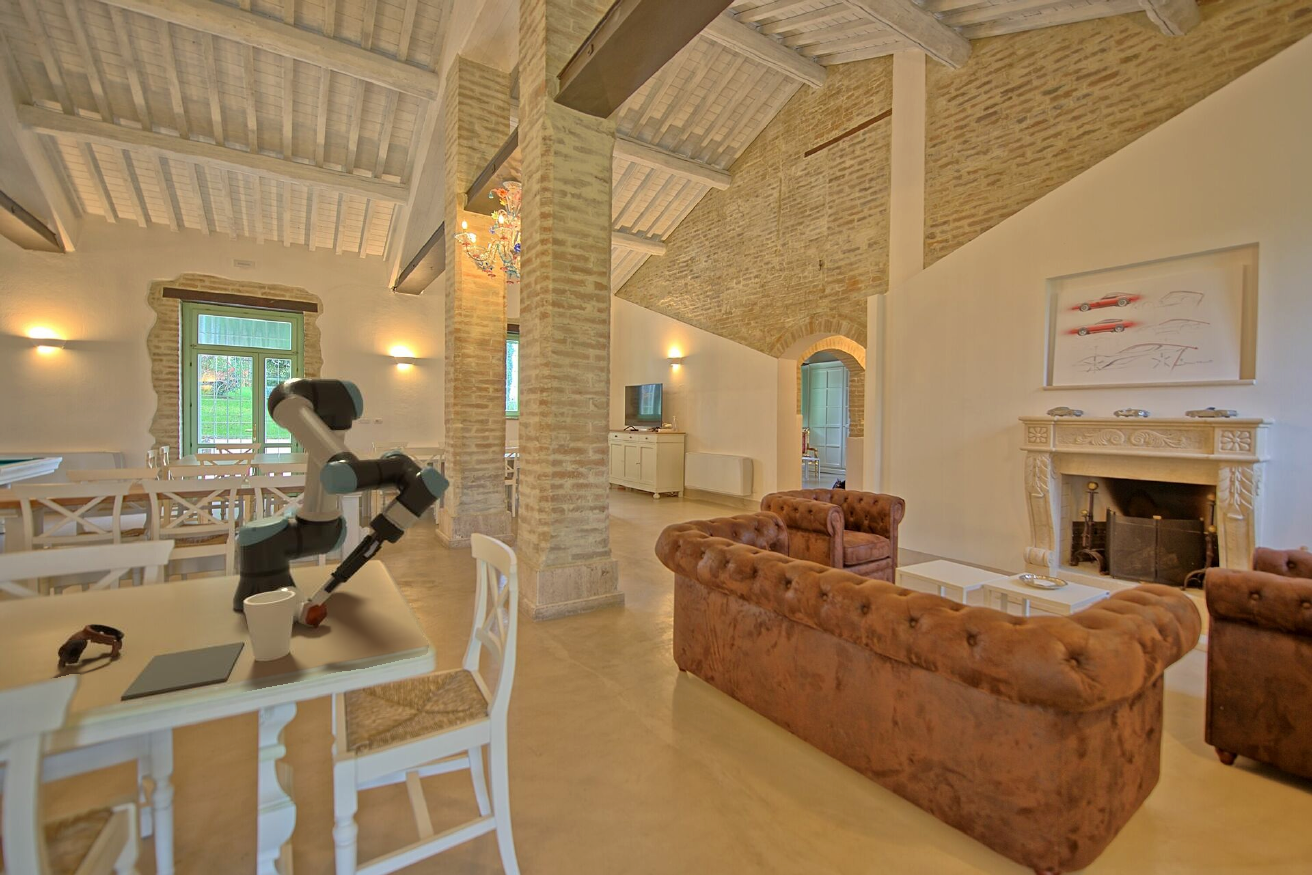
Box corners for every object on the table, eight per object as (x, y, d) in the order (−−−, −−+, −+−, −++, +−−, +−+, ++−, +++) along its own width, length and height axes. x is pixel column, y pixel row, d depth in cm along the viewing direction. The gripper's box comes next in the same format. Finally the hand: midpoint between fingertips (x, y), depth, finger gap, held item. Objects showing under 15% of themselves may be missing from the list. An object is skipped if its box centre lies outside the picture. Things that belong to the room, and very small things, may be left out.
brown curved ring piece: (73, 655, 128) (98, 619, 130) (116, 671, 129) (139, 635, 131) (29, 664, 116) (57, 625, 118) (76, 681, 117) (103, 642, 120)
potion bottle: (274, 624, 148) (320, 637, 143) (246, 614, 140) (293, 627, 135) (295, 590, 152) (339, 602, 148) (268, 578, 144) (315, 590, 140)
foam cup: (302, 654, 126) (300, 596, 125) (252, 668, 119) (250, 607, 119) (289, 642, 133) (288, 587, 132) (241, 655, 126) (239, 597, 125)
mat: (244, 644, 132) (244, 641, 132) (226, 680, 114) (226, 677, 114) (154, 658, 124) (154, 655, 124) (121, 699, 107) (120, 696, 107)
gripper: (408, 536, 132) (327, 620, 125) (404, 526, 143) (330, 602, 136) (382, 516, 129) (298, 600, 122) (380, 507, 141) (303, 583, 134)
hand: (315, 601), depth 129 cm, fingers closed
